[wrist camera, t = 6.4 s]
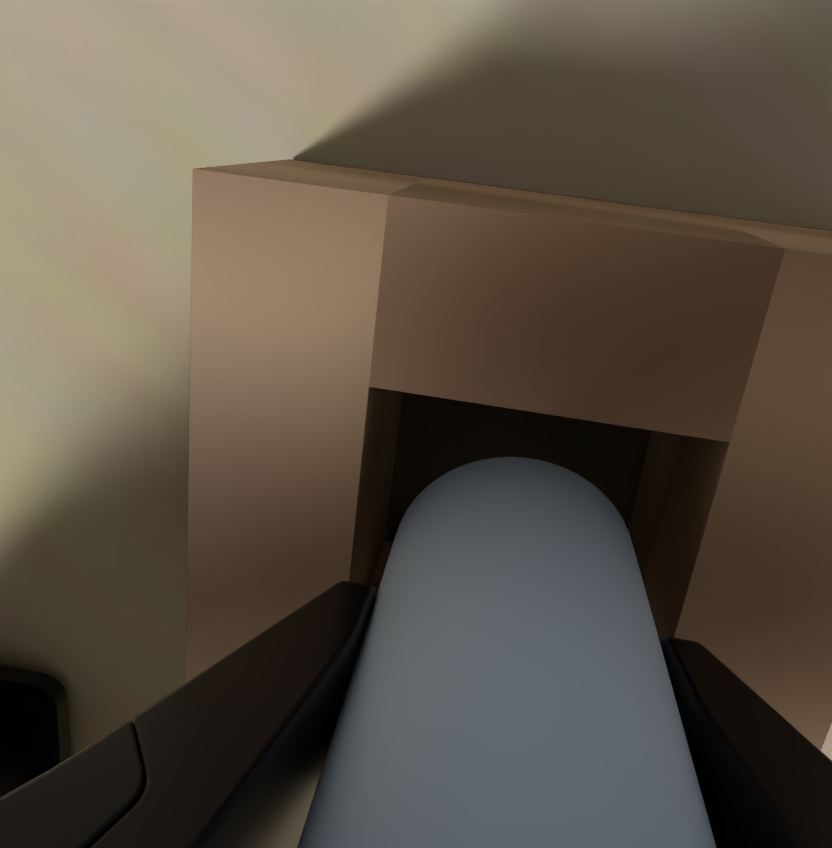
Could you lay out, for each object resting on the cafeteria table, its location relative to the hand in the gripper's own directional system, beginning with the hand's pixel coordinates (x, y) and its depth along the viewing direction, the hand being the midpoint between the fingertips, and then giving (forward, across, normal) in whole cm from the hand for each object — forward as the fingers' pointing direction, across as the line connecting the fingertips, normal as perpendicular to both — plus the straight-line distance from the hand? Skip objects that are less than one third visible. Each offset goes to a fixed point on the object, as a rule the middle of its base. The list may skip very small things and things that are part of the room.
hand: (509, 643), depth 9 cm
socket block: (+6, 0, 0) cm, 6 cm away
